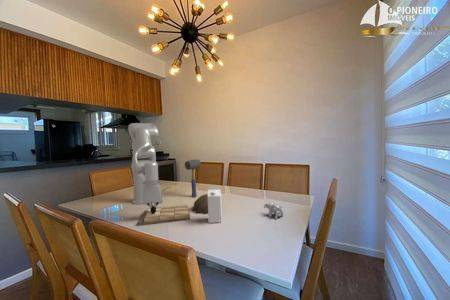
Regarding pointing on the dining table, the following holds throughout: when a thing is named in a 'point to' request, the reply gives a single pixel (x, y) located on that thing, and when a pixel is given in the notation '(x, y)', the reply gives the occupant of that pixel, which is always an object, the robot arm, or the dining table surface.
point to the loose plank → (158, 211)
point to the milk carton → (214, 205)
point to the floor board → (166, 215)
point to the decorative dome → (201, 205)
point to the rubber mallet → (193, 173)
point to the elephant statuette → (274, 209)
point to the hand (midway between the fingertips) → (153, 213)
